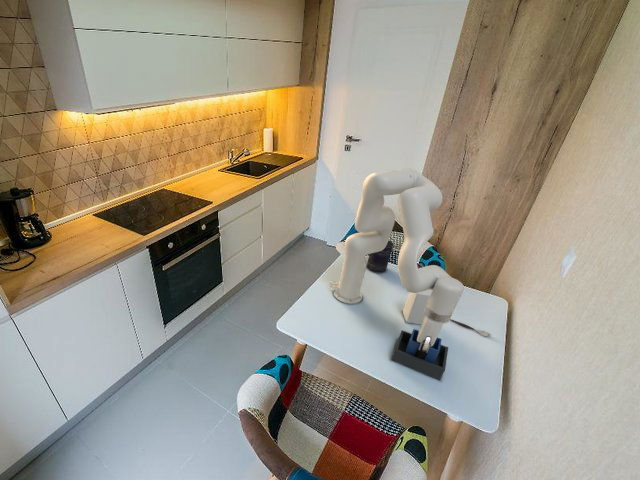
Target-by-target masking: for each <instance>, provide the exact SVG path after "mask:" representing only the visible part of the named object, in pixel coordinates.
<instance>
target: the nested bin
mask: <svg viewBox="0 0 640 480" xmlns="http://www.w3.org/2000/svg"><path fill="white" fill-rule="evenodd" d="M418 333H419V329H415V328H413V329H412V332H411V337H410V339H409V342H408V345H407V348H406V352H405V353H408V354H410V355H413V356H415V353H416V351H417V348H419V346H420V342H417V337H418ZM423 342H425V340H424V341H423ZM429 343H430V342H429ZM423 345H424V344H422V346H421V347H423ZM441 345H442V338H441V337H439V336H438V337H437V339H436V341H435V343H434V344H433V346H431V347H429V350H428V354H427V356H426V358H425V361H428V362H430V363H433V364H434V362H435V360H436V358H437V356H438V354H439V351H440V346H441Z"/></svg>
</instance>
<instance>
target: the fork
mask: <svg viewBox="0 0 640 480" xmlns="http://www.w3.org/2000/svg"><path fill="white" fill-rule="evenodd" d="M449 321H451V322H453V323H456V324H458V325H460V326H462V327H464V328H467V329H469V330H473V331H476V332H477V333H479V335H481V336H483V337H488V332H486V331H481V330H478V329H476V328H475V327H472V326H469V325H468V324H465V323H462V322H459V321H457V320H455V319H451V318H450V320H449Z"/></svg>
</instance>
